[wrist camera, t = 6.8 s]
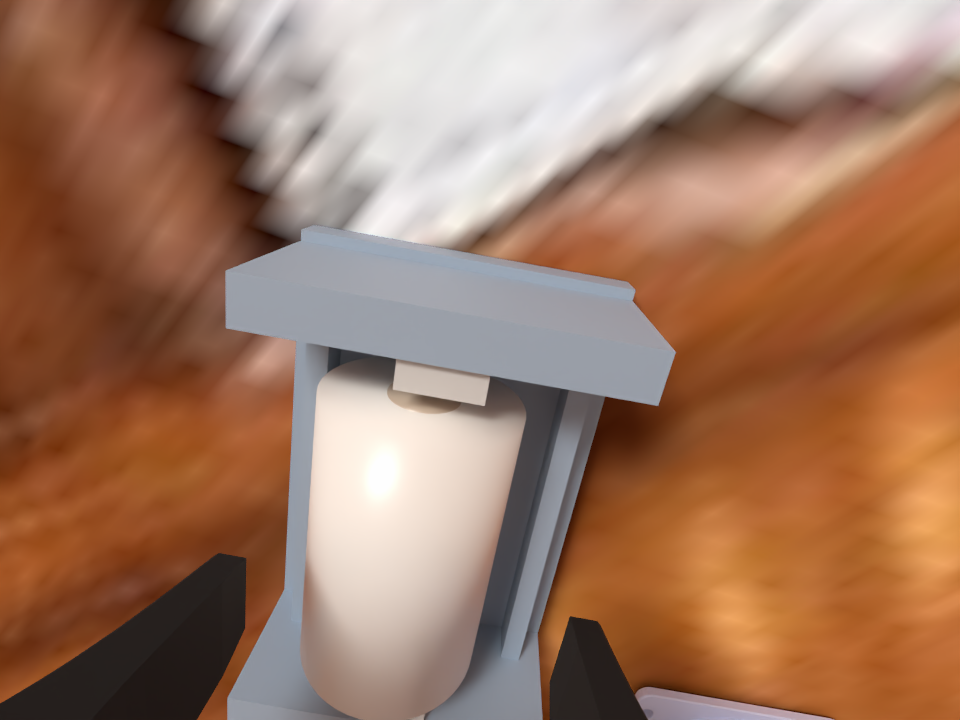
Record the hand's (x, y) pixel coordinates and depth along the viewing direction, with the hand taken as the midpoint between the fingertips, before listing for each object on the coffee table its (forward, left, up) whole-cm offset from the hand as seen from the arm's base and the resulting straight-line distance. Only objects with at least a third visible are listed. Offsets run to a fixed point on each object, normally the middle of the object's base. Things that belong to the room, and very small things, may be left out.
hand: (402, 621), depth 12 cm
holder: (0, 0, -6) cm, 6 cm away
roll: (0, +1, -5) cm, 5 cm away
